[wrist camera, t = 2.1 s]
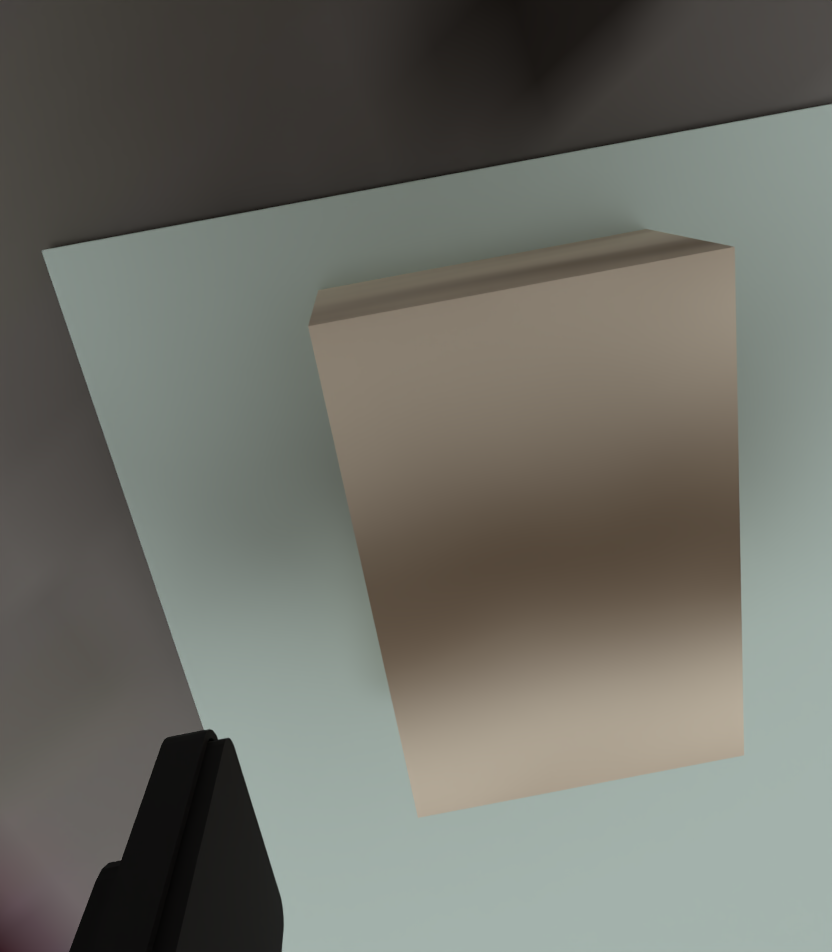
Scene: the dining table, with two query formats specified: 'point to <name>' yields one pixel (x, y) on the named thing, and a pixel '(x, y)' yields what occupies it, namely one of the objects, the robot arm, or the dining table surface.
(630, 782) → the mat
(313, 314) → the card box
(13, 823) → the dining table surface
